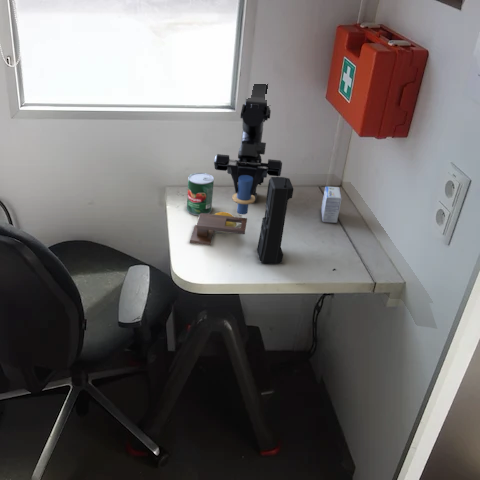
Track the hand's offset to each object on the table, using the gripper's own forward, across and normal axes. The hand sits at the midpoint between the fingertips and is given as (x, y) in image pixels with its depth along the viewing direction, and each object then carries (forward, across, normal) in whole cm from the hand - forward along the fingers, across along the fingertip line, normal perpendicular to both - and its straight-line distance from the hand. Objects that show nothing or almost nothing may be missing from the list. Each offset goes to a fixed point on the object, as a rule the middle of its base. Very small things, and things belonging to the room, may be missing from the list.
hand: (243, 193), depth 150 cm
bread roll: (+6, -6, +10) cm, 13 cm away
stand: (+12, -6, +7) cm, 15 cm away
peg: (+4, 0, +6) cm, 7 cm away
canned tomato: (+1, -14, +19) cm, 23 cm away
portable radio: (+16, +9, +3) cm, 19 cm away
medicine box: (-3, +26, +22) cm, 34 cm away
